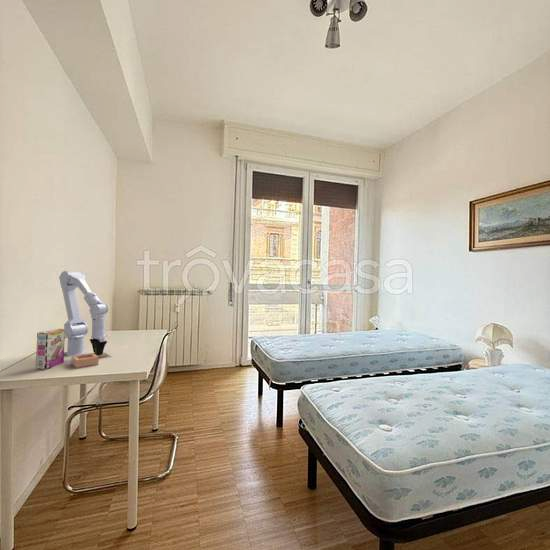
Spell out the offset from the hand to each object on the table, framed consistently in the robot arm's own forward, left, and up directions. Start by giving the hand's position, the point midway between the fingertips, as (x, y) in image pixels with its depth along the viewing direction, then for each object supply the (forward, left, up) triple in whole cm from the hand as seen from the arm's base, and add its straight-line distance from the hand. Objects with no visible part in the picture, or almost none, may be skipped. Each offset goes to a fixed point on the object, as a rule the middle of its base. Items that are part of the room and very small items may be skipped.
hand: (97, 353), depth 154 cm
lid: (0, 0, -1) cm, 1 cm away
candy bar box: (+3, -20, -2) cm, 20 cm away
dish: (+11, -8, -2) cm, 14 cm away
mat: (0, 0, -2) cm, 2 cm away
